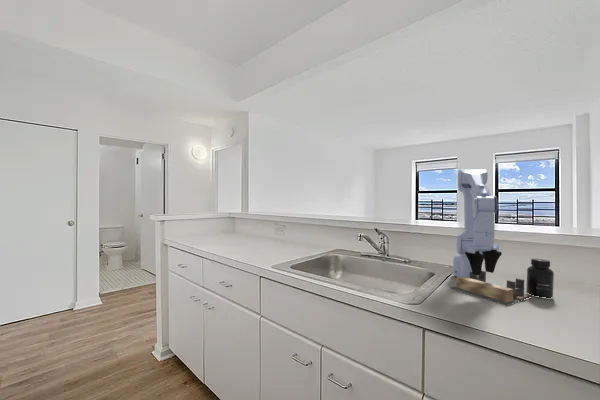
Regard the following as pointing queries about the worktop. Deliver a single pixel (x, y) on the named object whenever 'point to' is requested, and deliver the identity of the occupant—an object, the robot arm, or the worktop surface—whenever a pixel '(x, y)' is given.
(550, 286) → the supplement bottle
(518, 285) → the stand
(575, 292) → the worktop surface
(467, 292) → the mat
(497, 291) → the rail
